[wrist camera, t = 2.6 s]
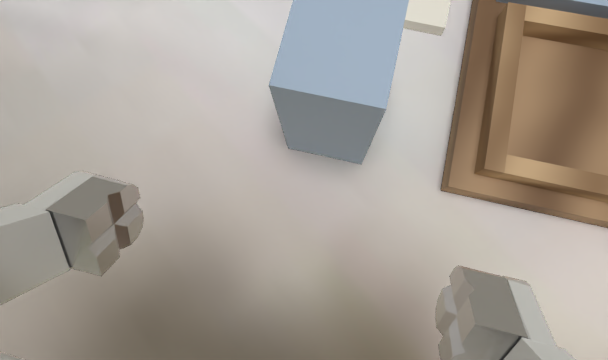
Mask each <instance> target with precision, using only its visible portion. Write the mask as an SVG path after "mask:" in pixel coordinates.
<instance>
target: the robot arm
mask: <svg viewBox="0 0 608 360" xmlns="http://www.w3.org/2000/svg"><path fill="white" fill-rule="evenodd" d="M139 199H140V194H139V189H138V187H136V186H135V185H133V184H130V183H126V182H123V181H119V180H115V179H112V178H108V177H104V176H101V175H96V174H92V173H89V172H85V171H77V172H74V173H72V174H71V175H69V176H68V177H66V178H64V179H63V180H61V181H60V182H58V183H57V184H55V185H54V186H52V187H51V188H49V189H47V190H46V191H44V192H43V193H41V194H40V195H38V196H37V197H35V198H34V199H32V200H30V201H29V202H27V203H26V204H24V205H22V204H14V205H10V206H6V207H2V208H0V305H2V304H4V303H6V302H8V301H10V300H12V299H14V298H16V297H18V296H20V295H22V294H24V293H26V292H28V291H30V290H31V289H33V288H35V287H37V286H39V285H41V284H43V283H45V282H47V281H49V280H51V279H53V278H55V277H57V276H59V275H61V274H63V273H65V272H67V271H69V270H70V268H71V269H75V270H79V271H83V272H87V273H91V274H95V275H99V276H102V275H103V274H104V273H105V272H106V271H107V270H108V269H109V268H110V267H111V266H112V265H113V264H114V263H115V261H116V260H117V259H118V258H119V257H120V249H122V248H125V247H127V246H129V245H131V244H132V243H133V242H134V241H135V240H136V239H137V237H138V236H139V233H140V231H141V229H142V227H143V219H144V218H143V211H142V210H141V209H140V208H139V206H138V205H137V204H136V203H137V201H138V200H139ZM449 277H450V283H451V285H449V286H447V287H445V288H443V289H442V291H441V293H440V295H439V297H438V300H437V305H436V312H435V320H436V328H437V329H438V330H439V332H440V333H441V334H442V336H443V338H442V340H441V341H440V343H439V345H438V346H439V354H440V360H576V359H575V358H574V357H573V356H572V355H571V354H570V353H569V352H568V351H567V350H566V349H563V348H560V347H557V345H556V343H555V340H554V338H553V336H552V334H551V331H550V329H549V327H548V324H547V322H546V320H545V318H544V315H543V313H542V311H541V308H540V306H539V304H538V302H537V299H536V297H535V295H534V292H533V290H532V288H531V286H530V285H529V284H528V283H527V282H526V281H523V280H519V279H514V278H510V277H506V276H500V275H496V274H492V273H487V272H483V271H479V270H475V269H471V268H467V267H463V266H459V265H458V266H456V267H455V268H454V269H453V271H452V273H451V274H450V276H449ZM0 360H25V359H22V358H19V357H16V356H12V355H9V354H6V353H3V352H0Z"/></svg>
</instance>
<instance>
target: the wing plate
mask: <svg viewBox="0 0 608 360" xmlns="http://www.w3.org/2000/svg"><path fill="white" fill-rule="evenodd" d="M496 2H502V3H508V2H511V3H517V4H523V5H529V6H534V7H540V8H546V9H552V10H558V11H564V12H570V13H576V14H582V15H588V16H594V17H600V18H606V19H608V0H496Z"/></svg>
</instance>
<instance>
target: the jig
mask: <svg viewBox="0 0 608 360" xmlns="http://www.w3.org/2000/svg"><path fill="white" fill-rule="evenodd" d="M441 190H442V191H446V192H450V193H455V194H459V195H464V196H468V197H473V198H477V199H482V200H486V201H491V202H495V203H500V204H504V205H509V206H513V207H517V208H522V209H526V210H531V211H535V212H540V213H544V214H549V215H553V216H558V217H562V218H567V219H571V220H576V221H580V222H585V223H589V224H593V225H598V226H602V227H607V228H608V19H606V18H600V17H594V16H588V15H582V14H576V13H570V12H564V11H558V10H552V9H546V8H540V7H534V6H529V5H523V4H517V3H511V2H508V3H502V2H496V0H473V1H472V7H471V13H470V19H469V25H468V31H467V37H466V43H465V49H464V55H463V61H462V67H461V73H460V79H459V85H458V91H457V96H456V102H455V108H454V114H453V120H452V126H451V132H450V138H449V144H448V150H447V156H446V162H445V168H444V174H443V180H442V186H441Z"/></svg>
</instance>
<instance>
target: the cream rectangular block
mask: <svg viewBox="0 0 608 360" xmlns="http://www.w3.org/2000/svg"><path fill="white" fill-rule="evenodd" d="M450 3H451V0H409V2H408V7H407V12H406V17H405V21H404V26H403V28H406V29H411V30H416V31H420V32H425V33H430V34H435V35H440V36H441V35H442V33H443V31H444V29H445V26H446V22H447V17H448V12H449V8H450Z"/></svg>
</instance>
